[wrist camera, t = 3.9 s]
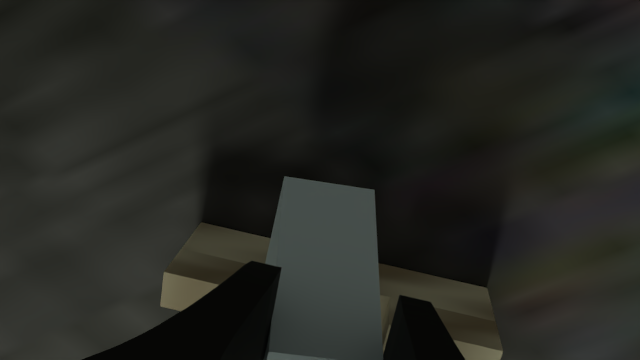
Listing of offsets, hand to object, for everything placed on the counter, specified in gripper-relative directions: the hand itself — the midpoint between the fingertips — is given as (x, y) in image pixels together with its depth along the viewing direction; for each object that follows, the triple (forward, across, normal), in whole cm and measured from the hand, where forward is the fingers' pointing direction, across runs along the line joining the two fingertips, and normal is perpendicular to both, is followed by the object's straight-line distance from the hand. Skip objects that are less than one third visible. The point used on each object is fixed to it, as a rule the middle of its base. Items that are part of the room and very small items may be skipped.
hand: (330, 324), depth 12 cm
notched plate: (+6, +1, +3) cm, 6 cm away
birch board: (+8, 0, +4) cm, 9 cm away
